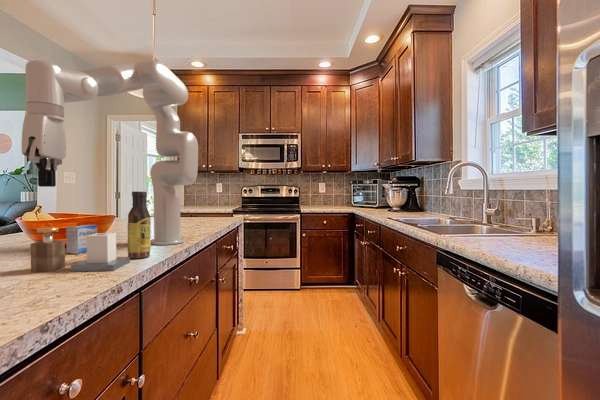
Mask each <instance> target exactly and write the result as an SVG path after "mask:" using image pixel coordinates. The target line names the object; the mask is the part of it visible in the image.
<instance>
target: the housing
mask: <svg viewBox="0 0 600 400" xmlns="http://www.w3.org/2000/svg"><path fill="white" fill-rule="evenodd" d="M116 257H117V233H116V232H105V233H104V232H103V233H102V232H101V233H100V232H99V233H98V232H97V233H96V234H92V235H88V236H87V252H86V260H87V263H108V262H110V261H113V260H115V259H116Z"/></svg>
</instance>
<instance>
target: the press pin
mask: <svg viewBox="0 0 600 400" xmlns="http://www.w3.org/2000/svg"><path fill="white" fill-rule="evenodd" d="M59 229H60V227H57V226H55V227H54V226H50V227H38V228H36V233H37V234H42V241H43V243H51V242H53V241H54V233H57V232H58V233H59V231H60V230H59Z"/></svg>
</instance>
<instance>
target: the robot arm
mask: <svg viewBox="0 0 600 400" xmlns="http://www.w3.org/2000/svg"><path fill="white" fill-rule="evenodd" d="M24 72H25V102H26V103H25V104H26V105H25V111H26V112H25V113H26V114H25V116H24V117H23V118H24V119H23V123H22V131H21V153H22V155H23V156H24V157H27V158H28V161H29V162H32V163H34V164H35V170H36V171H37V186H38V187H46V188H47V187H49V188H50V187H51V188H52V187H53V188H54V187H56V182H57V178H56V177H57V175H56V173H57V172H56V171H57V170H58V166H60V165H62V164H63V160H64V159H65V158H66V156H67V155H66V154H67V142H66V141H67V140H66V134H65V133H66V131H65V126H64V122H65V104H66V103H75V102H76V103H77V102H78V103H79V102H87V101H90V100H92V99H95V98H96V97H109V96H115V95H121V94H125V93H130V92H135V91H139V90H142V97H143V100H144V101H145V103H146V104H147V106H148V107H149V108H150V109H151V111H152V114H154V116H155V120H156V133H155V134H156V136H155V149H156V152H157V154H158V155H159V156H160V157H163V158H179V160H178V159H175V160H174V159H173V160H172V159H170V160H169V159H168V160H160V161H156V162H155V163H153V164H152V166H151V168H150V175H149V176H150V179H151V183H152V184H151V185H152V190H153V191H152V192H153V194H152V195H153V239H151V245H156V246H158V245H159V246H167V245H168V246H169V245H177V244H178V245H179V244H182V243H185V242H186V241H185V238H184V237H181V196H180V192H179V190H178V189H177V187H176V186H191V185H193V184H194V183H195V182H196V181H197V177H198V172H199V171H198V170H199V168H198V166H199V143H198V139H197V138H196V136H195V134H193V132H192V131H191V132H190V131H185V130H184V131H183V130H182V131H181V120H180V119H181V118H180V117H179V115H178V114H177V112H176V110H175V109H173V108H172V107H176V106H177V107H178V106H182V105H185V104H186V103H187V102H188V100H189V91H188V88H187V86H186V85H185V84H184V82H183V81H182V80H181V79H180V78H179V77H178V76H177V75H175V73H174V72H173V71H171V69H170V68H168V67H167V65H165V64H163V62H160V61H159V60H157V59H150V60H149V59H148V60H143V61H136V62H135V61H134V62H127V63H121V64H119V63H118V64H117V63H116V64H112V65H104V66H96V67H94V68H89V69H86V70H85V69H84V70H73V69H69V68H65V67H61V66H59V65H57V64H56V63H53V62H50V61H46V60H39V59H38V60H37V59H34V60H30V61H28V62H26V64H25V71H24Z"/></svg>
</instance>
